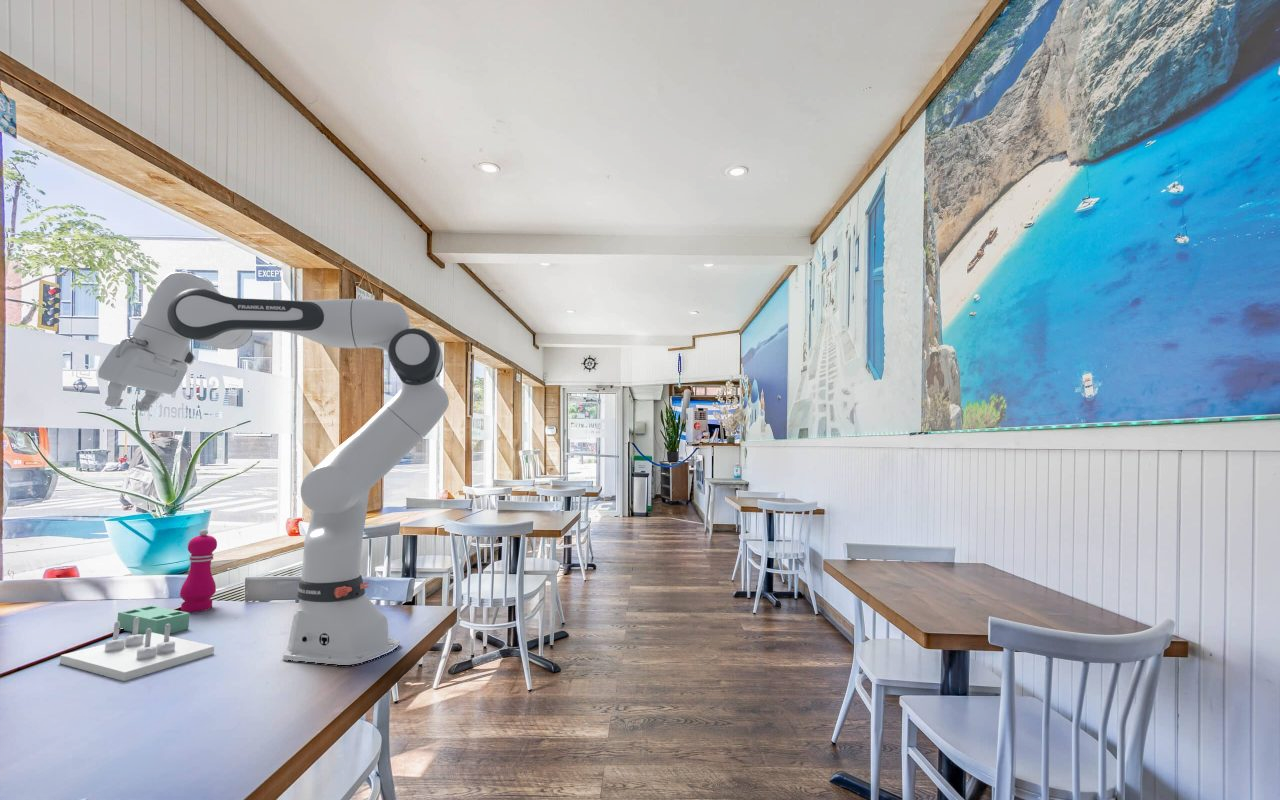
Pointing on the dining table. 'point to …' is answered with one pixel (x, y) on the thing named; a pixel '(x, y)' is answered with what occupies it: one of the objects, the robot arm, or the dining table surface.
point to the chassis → (136, 654)
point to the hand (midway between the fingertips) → (126, 408)
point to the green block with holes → (154, 619)
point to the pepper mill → (199, 574)
